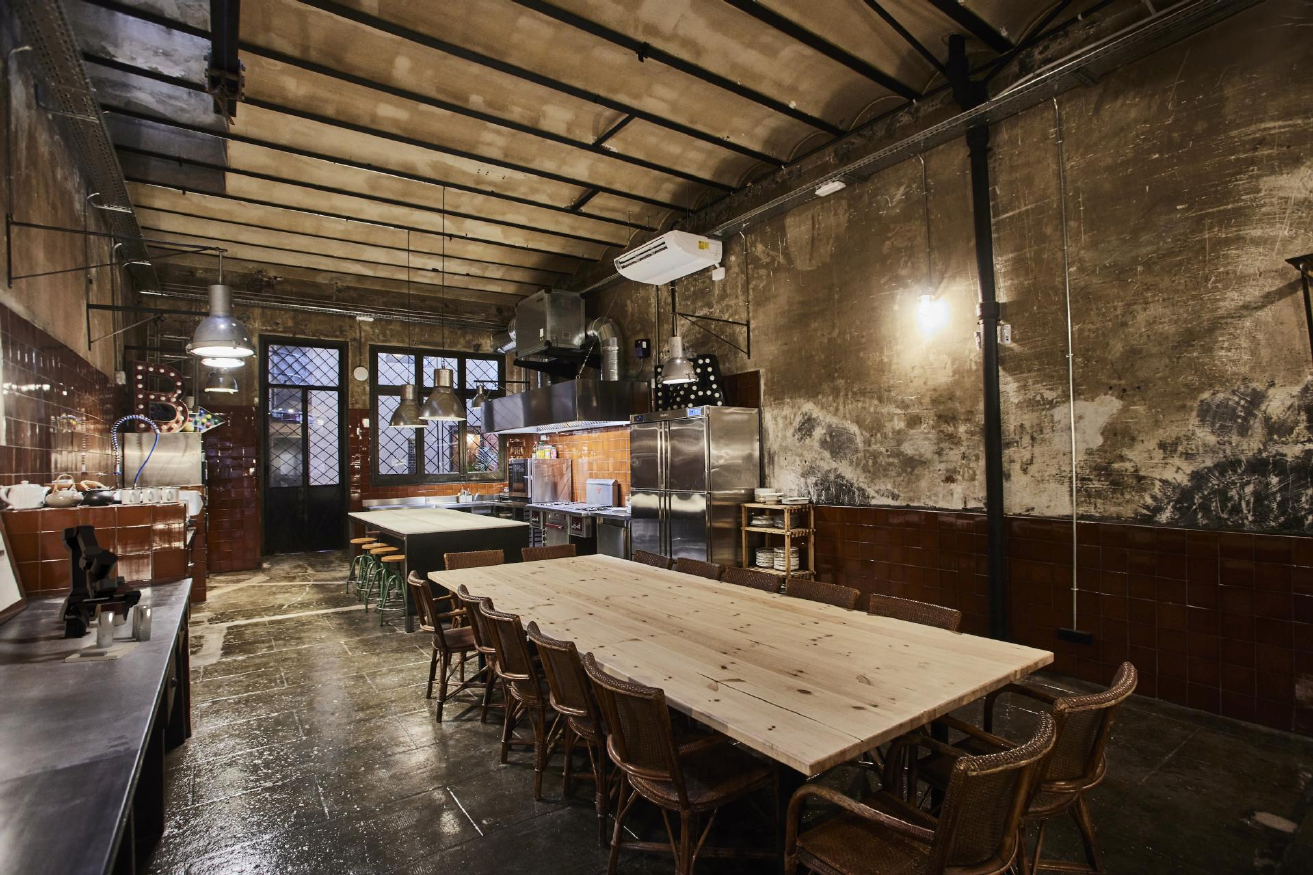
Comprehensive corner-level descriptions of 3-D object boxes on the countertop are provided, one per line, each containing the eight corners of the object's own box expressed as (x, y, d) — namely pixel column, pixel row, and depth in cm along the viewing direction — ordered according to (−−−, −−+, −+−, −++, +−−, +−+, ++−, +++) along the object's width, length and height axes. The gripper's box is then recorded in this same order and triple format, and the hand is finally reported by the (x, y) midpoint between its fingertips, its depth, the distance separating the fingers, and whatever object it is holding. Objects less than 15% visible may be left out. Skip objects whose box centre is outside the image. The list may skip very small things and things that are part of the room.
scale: (91, 648, 206) (92, 640, 206) (139, 645, 210) (139, 638, 211) (65, 662, 191) (65, 654, 191) (116, 659, 195) (117, 651, 196)
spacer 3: (138, 639, 218) (140, 607, 218) (152, 638, 219) (154, 607, 220) (133, 642, 214) (135, 610, 214) (147, 641, 215) (149, 609, 216)
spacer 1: (95, 646, 201) (98, 612, 202) (112, 644, 204) (114, 610, 204) (96, 649, 198) (98, 614, 199) (112, 647, 201) (115, 612, 201)
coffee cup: (138, 621, 241) (140, 583, 241) (113, 628, 231) (116, 587, 232) (115, 620, 242) (117, 581, 242) (89, 626, 232) (92, 586, 233)
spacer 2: (134, 636, 221) (136, 605, 222) (147, 635, 223) (150, 604, 223) (129, 639, 218) (131, 607, 218) (143, 638, 219) (145, 606, 220)
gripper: (68, 572, 197) (75, 612, 190) (141, 565, 212) (150, 602, 205) (59, 593, 201) (66, 633, 194) (132, 585, 216) (140, 623, 209)
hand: (107, 622), depth 200 cm, fingers open, 9 cm apart
